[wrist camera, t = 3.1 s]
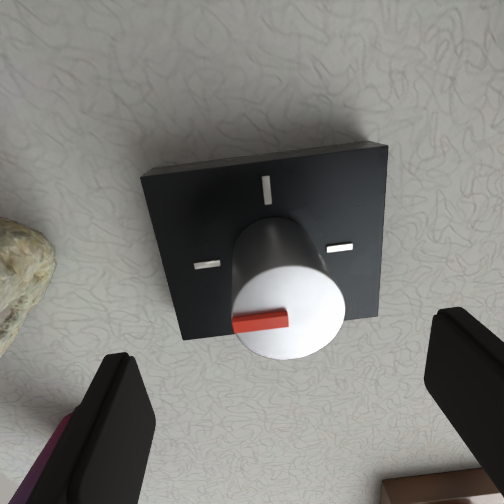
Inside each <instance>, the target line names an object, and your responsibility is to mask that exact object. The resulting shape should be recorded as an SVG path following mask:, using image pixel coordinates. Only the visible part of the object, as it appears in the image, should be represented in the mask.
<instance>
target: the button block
mask: <svg viewBox="0 0 504 504" xmlns="http://www.w3.org/2000/svg"><path fill="white" fill-rule="evenodd" d="M380 504H504V497H503V496H502V495H501V493H500V492H499V490H498V489H497V488H496V486H495V485H494V483H493V482H492V480H491V479H490V478H489V476H488V475H487V473H486V472H485V471H484V469H483V468H479V469H471V470H462V471H454V472H446V473H438V474H429V475H421V476H413V477H405V478H396V479H388V480H382V487H381V497H380Z"/></svg>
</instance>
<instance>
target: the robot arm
mask: <svg viewBox="0 0 504 504" xmlns="http://www.w3.org/2000/svg"><path fill="white" fill-rule="evenodd" d="M424 383H425V386H426V388H427V390H428V392H429V393H430V394H431V396H432V397H433V399H434V400H435V402H436V403H437V404H438V406H439V407H440V409H441V410H442V411H443V413H444V414H445V416H446V417H447V418H448V420H449V421H450V423H451V424H452V426H453V427H454V428H455V430H456V431H457V433H458V434H459V435H460V437H461V438H462V440H463V441H464V442H465V444H466V445H467V447H468V448H469V449H470V451H471V452H472V454H473V455H474V457H475V458H476V459H477V461H478V462H479V464H480V465H481V466H482V468H483V469H484V471H485V472H486V473H487V475H488V476H489V478H490V479H491V480H492V482H493V483H494V485H495V486H496V488H497V489H498V490H499V492H500V493H501V495H502V496H503V497H504V342H503V341H502V340H500V339H499V338H498V337H497V336H496V335H494V334H493V333H492V332H491V331H490V330H489V329H487V328H486V327H485V326H484V325H483V324H481V323H480V322H479V321H478V320H477V319H475V318H474V317H473V316H472V315H471V314H470V313H468V312H467V311H466V310H465V309H463V308H462V307H453V308H445V309H440V310H439V311H438V313H437V315H434V316H433V320H432V326H431V333H430V340H429V347H428V353H427V360H426V367H425V374H424ZM155 426H156V419H155V414H154V411H153V408H152V405H151V403H150V400H149V397H148V394H147V391H146V388H145V386H144V383H143V380H142V377H141V374H140V371H139V369H138V366H137V363H136V360H135V358H134V357H133V356H129V355H128V353H127V352H123V353H115V354H108V355H106V356H105V357H104V359H103V361H102V363H101V365H100V367H99V369H98V371H97V373H96V375H95V376H94V378H93V380H92V382H91V384H90V386H89V388H88V390H87V392H86V394H85V396H84V398H83V400H82V402H81V404H80V405H78V406H77V407H76V408H75V410H74V411H73V413H72V415H71V417H70V419H69V421H68V423H67V424H66V426H65V428H64V430H63V432H62V434H61V436H60V438H59V440H58V442H57V444H56V446H55V448H54V449H53V451H52V453H51V455H50V457H49V459H48V461H47V463H46V465H45V467H44V469H43V471H42V473H41V474H40V476H39V478H38V480H37V482H36V484H35V486H34V488H33V490H32V492H31V494H30V496H29V498H28V499H27V501H26V503H25V504H138V499H139V495H140V491H141V487H142V482H143V478H144V474H145V470H146V465H147V461H148V457H149V453H150V448H151V444H152V440H153V435H154V431H155Z"/></svg>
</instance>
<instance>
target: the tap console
mask: <svg viewBox="0 0 504 504" xmlns="http://www.w3.org/2000/svg"><path fill="white" fill-rule="evenodd" d="M387 161H388V145H384V144H380V143H376V142H371V141H362V142H354V143H346V144H339V145H331V146H323V147H315V148H307V149H299V150H291V151H283V152H276V153H268V154H260V155H252V156H244V157H236V158H228V159H221V160H213V161H205V162H197V163H189V164H181V165H173V166H165V167H158V168H152V169H151V170H149V171H148V172H147V173H145V174H144V175H142V176H141V177H140V179H141V183H142V187H143V191H144V194H145V198H146V202H147V206H148V210H149V213H150V217H151V221H152V225H153V229H154V232H155V236H156V240H157V244H158V248H159V251H160V255H161V259H162V263H163V267H164V270H165V274H166V278H167V282H168V286H169V289H170V293H171V297H172V301H173V305H174V308H175V312H176V316H177V320H178V324H179V327H180V331H181V335H182V339H183V340H191V339H199V338H207V337H215V336H223V335H232V334H234V331H233V325H232V319H231V306H232V259H233V248H234V245H235V242H236V240H237V238H238V237H239V235H240V234H241V232H242V231H243V230H244V229H245V228H247V227H248V226H249V225H251V224H252V223H254V222H256V221H258V220H261V219H264V218H269V217H281V218H286V219H289V220H292V221H294V222H296V223H298V224H299V225H300V226H302V227H303V228H304V229H305V230H306V232H307V233H308V234H309V236H310V238H311V239H312V241H313V243H314V245H315V246H316V248H317V250H318V251H319V253H320V255H321V257H322V258H323V260H324V262H325V263H326V265H327V267H328V269H329V270H330V272H331V274H332V276H333V277H334V279H335V281H336V282H337V284H338V286H339V288H340V289H341V291H342V294H343V296H344V300H345V316H344V320H352V319H360V318H368V317H376V316H378V305H379V289H380V273H381V257H382V241H383V225H384V209H385V193H386V177H387ZM344 320H343V321H344Z"/></svg>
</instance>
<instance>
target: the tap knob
mask: <svg viewBox="0 0 504 504" xmlns="http://www.w3.org/2000/svg"><path fill="white" fill-rule="evenodd" d="M344 316H345V300H344V296H343V294H342V291H341V289H340V288H339V286H338V284H337V282H336V281H335V279H334V277H333V276H332V274H331V272H330V270H329V269H328V267H327V265H326V263H325V262H324V260H323V258H322V257H321V255H320V253H319V251H318V250H317V248H316V246H315V245H314V243H313V241H312V239H311V238H310V236H309V234H308V233H307V232H306V230H305V229H304V228H303V227H302V226H300V225H299V224H298V223H296V222H294V221H292V220H289V219H286V218H281V217H269V218H264V219H261V220H258V221H256V222H254V223H252V224H251V225H249V226H248V227H247V228H245V229H244V230H243V231H242V232H241V234H240V235H239V237H238V238H237V240H236V242H235V245H234V248H233V259H232V306H231V319H232V325H233V331H234V334H236V335H237V337H238V338H239V340H240V341H241V342H242V343H243V344H244V345H245V346H246V347H247V348H248V349H250V350H251V351H253V352H254V353H256V354H258V355H261V356H263V357H266V358H271V359H277V360H291V359H297V358H302V357H305V356H308V355H310V354H313V353H315V352H317V351H319V350H320V349H322V348H323V347H325V346H326V345H327V344H328V343H329V342H330V341H331V340H332V339H333V338H334V337H335V336H336V334H337V333H338V331H339V330H340V328H341V326H342V323H343V320H344Z"/></svg>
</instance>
